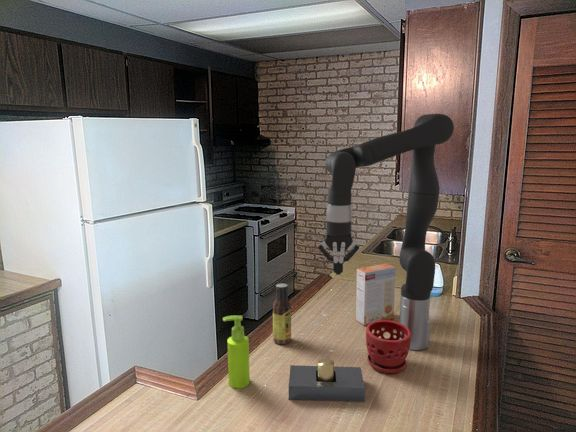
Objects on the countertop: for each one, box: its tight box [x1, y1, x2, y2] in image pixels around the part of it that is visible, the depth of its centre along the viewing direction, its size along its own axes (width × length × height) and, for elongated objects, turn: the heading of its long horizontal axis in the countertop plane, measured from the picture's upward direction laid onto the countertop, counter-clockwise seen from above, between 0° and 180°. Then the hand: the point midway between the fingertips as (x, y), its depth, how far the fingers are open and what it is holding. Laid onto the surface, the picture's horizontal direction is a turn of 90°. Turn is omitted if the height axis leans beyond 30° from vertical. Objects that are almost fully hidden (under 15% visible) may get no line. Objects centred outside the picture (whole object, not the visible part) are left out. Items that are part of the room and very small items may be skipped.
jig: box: [288, 364, 366, 403], centre depth 114 cm, size 20×10×4 cm, turn 87°
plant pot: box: [365, 320, 411, 374], centre depth 125 cm, size 13×13×12 cm
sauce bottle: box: [272, 283, 292, 345], centre depth 139 cm, size 6×6×20 cm
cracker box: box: [355, 263, 397, 327], centre depth 155 cm, size 14×6×21 cm, turn 115°
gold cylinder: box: [317, 358, 335, 382], centre depth 113 cm, size 4×4×8 cm
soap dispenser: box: [222, 314, 251, 389], centre depth 116 cm, size 6×7×20 cm
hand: (337, 273), depth 127 cm, fingers closed
